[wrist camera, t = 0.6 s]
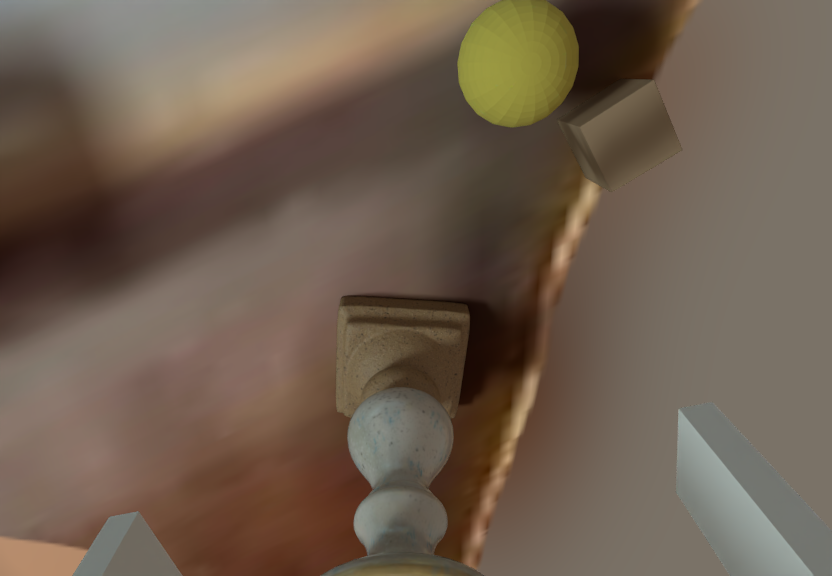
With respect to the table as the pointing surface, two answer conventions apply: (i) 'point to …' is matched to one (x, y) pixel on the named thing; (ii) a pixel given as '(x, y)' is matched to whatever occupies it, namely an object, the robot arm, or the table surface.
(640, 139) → the walnut block
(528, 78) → the light bulb
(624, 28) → the table surface
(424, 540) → the candle holder
